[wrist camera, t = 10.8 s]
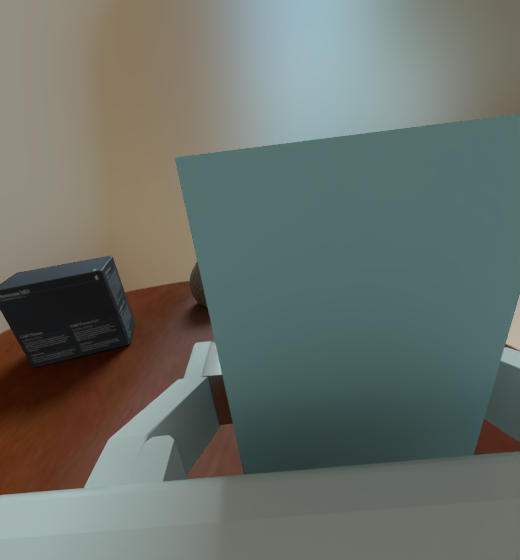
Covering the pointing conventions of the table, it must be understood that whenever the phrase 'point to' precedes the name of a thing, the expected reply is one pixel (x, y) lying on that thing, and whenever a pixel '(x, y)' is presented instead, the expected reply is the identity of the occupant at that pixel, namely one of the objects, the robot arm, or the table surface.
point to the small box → (67, 310)
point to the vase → (197, 286)
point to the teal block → (359, 289)
